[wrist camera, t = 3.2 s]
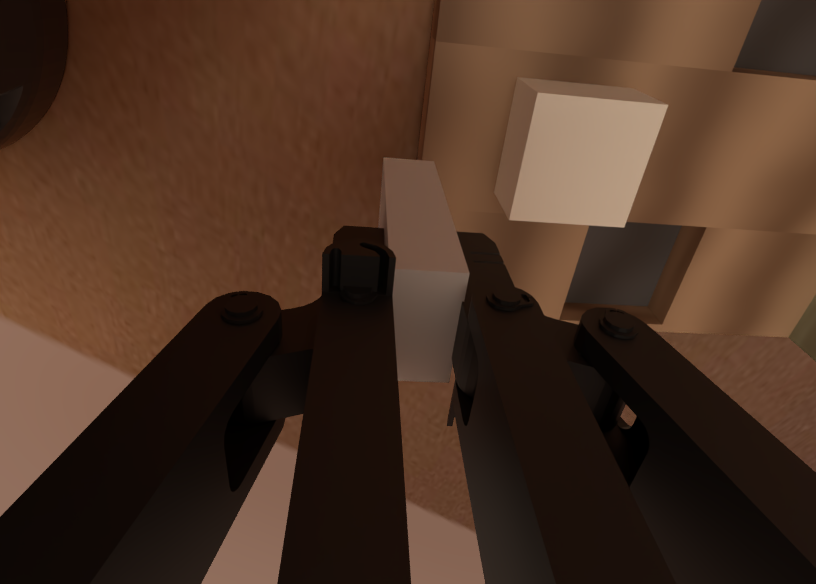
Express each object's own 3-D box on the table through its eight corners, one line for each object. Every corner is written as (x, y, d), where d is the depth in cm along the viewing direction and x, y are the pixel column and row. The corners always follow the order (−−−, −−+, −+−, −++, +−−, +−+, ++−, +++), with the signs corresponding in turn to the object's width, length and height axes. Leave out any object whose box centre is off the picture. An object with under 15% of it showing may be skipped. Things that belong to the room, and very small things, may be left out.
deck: (401, 299, 29) (406, 357, 24) (453, -168, 18) (478, -209, 14) (787, 318, 31) (852, 373, 27) (1035, -82, 20) (1206, -95, 16)
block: (493, 192, 23) (509, 220, 21) (517, 77, 21) (537, 92, 18) (597, 200, 24) (623, 227, 21) (633, 88, 21) (668, 104, 19)
